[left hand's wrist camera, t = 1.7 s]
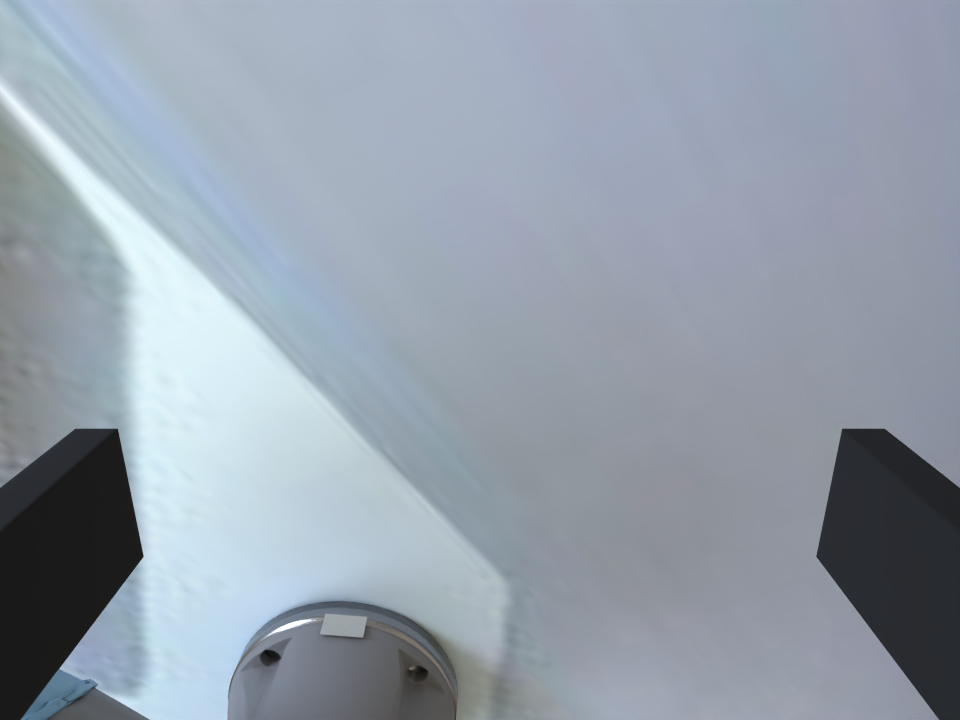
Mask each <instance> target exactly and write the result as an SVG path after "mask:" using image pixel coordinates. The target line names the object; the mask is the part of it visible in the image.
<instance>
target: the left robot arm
mask: <svg viewBox="0 0 960 720" xmlns="http://www.w3.org/2000/svg"><path fill="white" fill-rule="evenodd" d="M143 557H144V556H143V551H142V546H141V542H140V537H139V532H138V527H137V522H136V517H135V512H134V507H133V502H132V497H131V492H130V487H129V482H128V477H127V472H126V467H125V462H124V457H123V452H122V447H121V443H120V438H119V433H118V429H75V430H73V431H72V432H71V433H70V434H68V435H67V436H66V437H64V438H63V439H62V440H61V441H59V442H58V443H57V444H56V445H54V446H53V447H52V448H50V449H49V450H48V451H47V452H45V453H44V454H43V455H42V456H40V457H39V458H38V459H37V460H35V461H34V462H33V463H31V464H30V465H29V466H28V467H26V468H25V469H24V470H23V471H21V472H20V473H19V474H17V475H16V476H15V477H14V478H12V479H11V480H10V481H9V482H7V483H6V484H5V485H4V486H2V487H1V488H0V720H149V719H148V718H146V717H144V716H142V715H141V714H139V713H137V712H135V711H134V710H132V709H130V708H129V707H127V706H125V705H123V704H122V703H120V702H118V701H117V700H115V699H113V698H111V697H110V696H108V695H106V694H104V693H103V692H101V691H99V690H98V689H96V688H95V687H96V686H97V685H98V684H97V683H96V682H95V681H93V680H91V679H88V680H81V679H79V678H76V677H74V676H72V675H70V674H68V673H66V672H64V671H62V670H60V669H59V668H60V667H61V666H62V664H63V663H64V662H65V660H66V659H67V658H68V656H69V655H70V654H71V652H72V651H73V650H74V648H75V647H76V646H77V644H78V643H79V642H80V640H81V639H82V638H83V636H84V635H85V634H86V632H87V631H88V630H89V628H90V627H91V626H92V624H93V623H94V622H95V620H96V619H97V618H98V616H99V615H100V614H101V612H102V611H103V610H104V608H105V607H106V606H107V604H108V603H109V602H110V600H111V599H112V598H113V597H114V595H115V594H116V593H117V591H118V590H119V589H120V587H121V586H122V585H123V583H124V582H125V581H126V579H127V578H128V577H129V575H130V574H131V573H132V571H133V570H134V569H135V567H136V566H137V565H138V563H139V562H140V561H141V559H142V558H143ZM816 557H817V558H818V559H819V561H820V562H821V563H822V565H823V566H824V567H825V569H826V570H827V571H828V573H829V574H830V575H831V577H832V578H833V579H834V581H835V582H836V583H837V585H838V586H839V587H840V589H841V590H842V591H843V593H844V594H845V595H846V597H847V598H848V599H849V600H850V602H851V603H852V604H853V606H854V607H855V608H856V610H857V611H858V612H859V614H860V615H861V616H862V618H863V619H864V620H865V622H866V623H867V624H868V626H869V627H870V628H871V630H872V631H873V632H874V634H875V635H876V636H877V638H878V639H879V640H880V642H881V643H882V644H883V646H884V647H885V648H886V650H887V651H888V652H889V654H890V655H891V656H892V658H893V659H894V660H895V662H896V663H897V664H898V666H899V667H900V668H901V670H902V671H903V672H904V673H905V675H906V676H907V677H908V679H909V680H910V681H911V683H912V684H913V685H914V687H915V688H916V689H917V691H918V692H919V693H920V695H921V696H922V697H923V699H924V700H925V701H926V703H927V704H928V705H929V707H930V708H931V709H932V711H933V712H934V713H935V715H936V716H937V717H938V719H939V720H960V488H959V487H958V486H956V485H955V484H954V483H953V482H951V481H950V480H949V479H948V478H946V477H945V476H944V475H943V474H941V473H940V472H939V471H937V470H936V469H935V468H934V467H932V466H931V465H930V464H929V463H927V462H926V461H925V460H923V459H922V458H921V457H920V456H918V455H917V454H916V453H915V452H913V451H912V450H911V449H910V448H908V447H907V446H906V445H904V444H903V443H902V442H901V441H899V440H898V439H897V438H896V437H894V436H893V435H892V434H890V433H889V432H888V431H887V430H885V429H842V433H841V438H840V443H839V447H838V452H837V457H836V462H835V467H834V472H833V477H832V482H831V487H830V492H829V497H828V502H827V507H826V512H825V517H824V522H823V527H822V532H821V537H820V542H819V546H818V551H817V556H816ZM456 708H457V683H456V677H455V674H454V671H453V668H452V665H451V663H450V661H449V659H448V657H447V656H446V654H445V652H444V651H443V650H442V648H441V647H440V646H439V644H438V643H437V642H436V641H435V640H434V639H433V638H432V637H431V636H430V635H429V634H428V633H427V632H425V631H424V630H423V629H422V628H420V627H419V626H418V625H416V624H415V623H413V622H411V621H410V620H408V619H406V618H404V617H402V616H400V615H398V614H396V613H393V612H391V611H389V610H386V609H383V608H379V607H376V606H372V605H367V604H362V603H355V602H322V603H316V604H310V605H306V606H302V607H298V608H296V609H293V610H290V611H288V612H286V613H283V614H281V615H279V616H278V617H276V618H274V619H273V620H271V621H270V622H268V623H267V624H266V625H264V626H263V627H262V628H261V629H260V630H259V631H258V632H257V633H256V634H255V635H254V636H253V637H252V638H251V640H250V641H249V643H248V644H247V646H246V648H245V650H244V652H243V654H242V656H241V658H240V660H239V663H238V665H237V667H236V669H235V672H234V674H233V676H232V679H231V682H230V687H229V695H228V720H456Z"/></svg>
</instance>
